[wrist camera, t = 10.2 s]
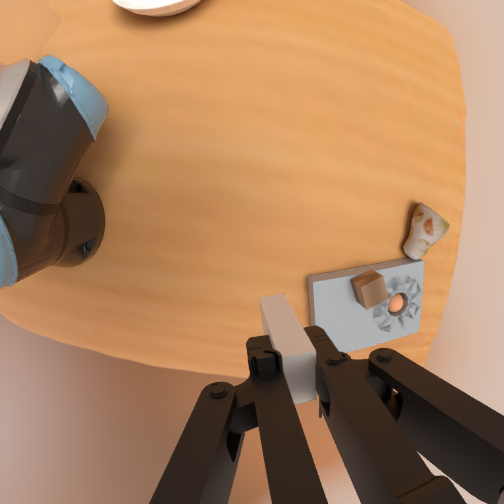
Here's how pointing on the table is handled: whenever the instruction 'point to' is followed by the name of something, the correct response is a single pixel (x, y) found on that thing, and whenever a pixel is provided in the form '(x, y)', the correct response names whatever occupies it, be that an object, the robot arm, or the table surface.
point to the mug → (424, 231)
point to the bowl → (156, 6)
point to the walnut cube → (369, 289)
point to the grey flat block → (357, 317)
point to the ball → (395, 303)
